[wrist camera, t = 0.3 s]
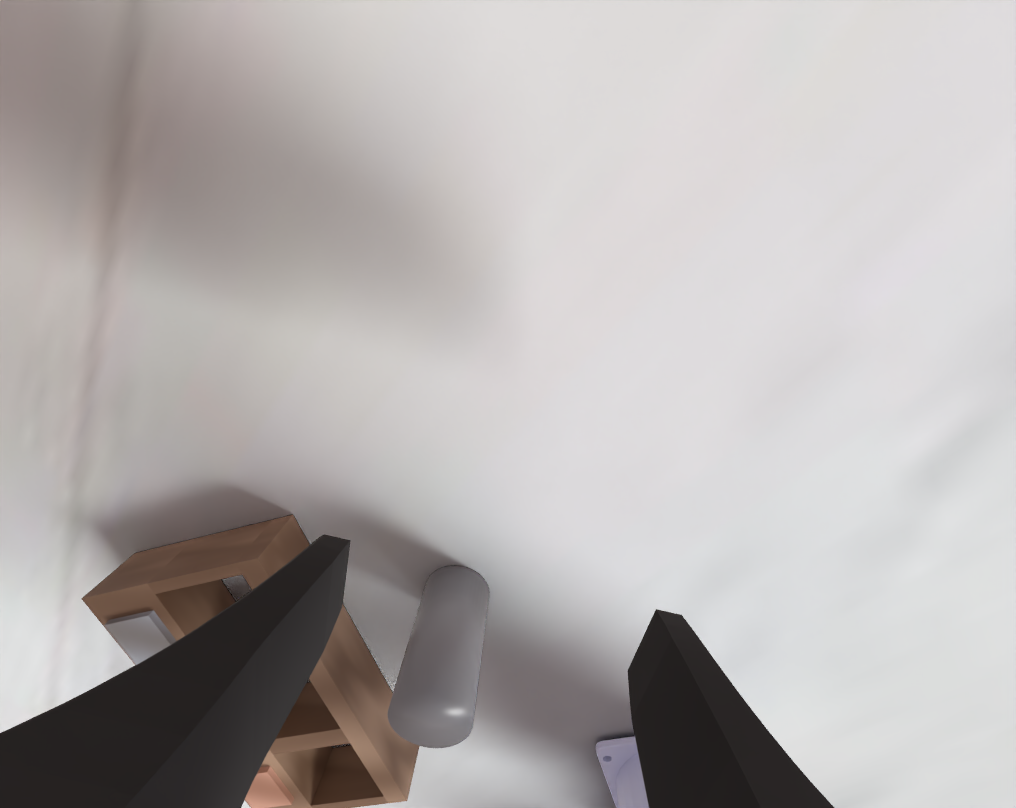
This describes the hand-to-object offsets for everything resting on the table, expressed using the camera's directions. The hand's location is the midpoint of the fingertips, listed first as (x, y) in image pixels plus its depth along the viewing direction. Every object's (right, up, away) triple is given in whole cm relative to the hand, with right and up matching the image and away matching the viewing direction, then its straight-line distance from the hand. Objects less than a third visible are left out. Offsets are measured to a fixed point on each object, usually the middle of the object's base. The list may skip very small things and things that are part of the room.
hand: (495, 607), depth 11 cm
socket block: (-12, -9, +15) cm, 21 cm away
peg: (-2, -5, +13) cm, 14 cm away
